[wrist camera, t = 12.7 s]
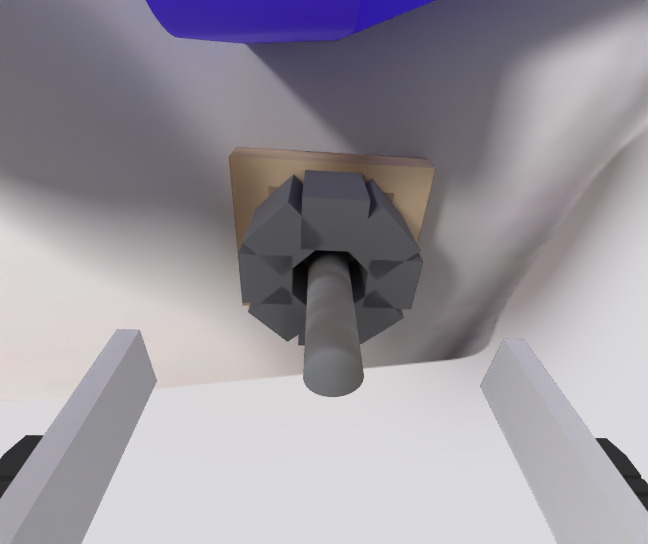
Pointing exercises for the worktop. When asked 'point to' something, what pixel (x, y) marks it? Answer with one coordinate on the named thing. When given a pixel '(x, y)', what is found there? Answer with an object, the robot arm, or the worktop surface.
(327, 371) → the peg base board
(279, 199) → the dark grey gear
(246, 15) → the bracket
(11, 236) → the worktop surface
